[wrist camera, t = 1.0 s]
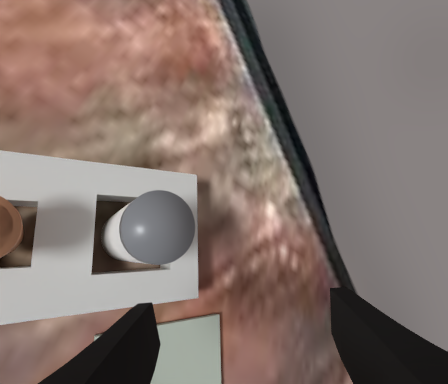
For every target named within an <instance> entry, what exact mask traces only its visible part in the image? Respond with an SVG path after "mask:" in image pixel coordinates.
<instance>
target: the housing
mask: <svg viewBox="0 0 448 384" xmlns="http://www.w3.org/2000/svg"><path fill="white" fill-rule="evenodd" d="M154 190H164V191H169V192H172V193H174V194H176V195H178V196H179V197H181V198H182V199H183V200H184V201H185V202H186V203H187V204H188V206H189V207H190V209H191V211H192V213H193V216H194V220H195V234H194V238H193V241H192V244H191V246H190V247H189V249H188V250H187V252H186V253H185V254H184V255H183V256H182V257H180V258H179V259H177V260H176V261H174V262H171V263H168V264H163V265H160V268H154V269H139V270H124V271H109V272H94V273H92V258H93V243H94V229H95V214H96V201H113V202H132V201H133V200H135V199H136V198H137V197H139V196H140V195H142V194H144V193H146V192H149V191H154ZM0 196H1V197H3V198H5V199H6V200H8V201H9V202H10V203H11V204H12V205H13V206H26V207H38V208H37V217H36V226H35V234H34V243H33V252H32V261H31V266H20V267H0V325H3V324H10V323H18V322H25V321H32V320H40V319H47V318H55V317H62V316H69V315H77V314H84V313H91V312H99V311H106V310H113V309H121V308H128V307H134V306H135V305H137V304H138V303H150V302H152V304H158V303H165V302H172V301H180V300H187V299H195V298H198V224H197V175H194V174H186V173H177V172H169V171H161V170H153V169H145V168H137V167H129V166H121V165H113V164H105V163H97V162H89V161H81V160H73V159H65V158H57V157H48V156H40V155H32V154H24V153H16V152H8V151H0Z"/></svg>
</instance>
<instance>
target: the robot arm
mask: <svg viewBox="0 0 448 384" xmlns="http://www.w3.org/2000/svg"><path fill="white" fill-rule="evenodd" d="M330 302H331V332H332V335H333V338H334V341H335V344H336V347H337V349H338V352H339V355H340V357H341V360H342V362H343V364H344V366H345V368H346V370H347V372H348V374H349V376H350V378H351V380H352V382H353V384H448V352H447V351H445V350H443V349H441V348H440V347H438V346H435V345H434V344H432V343H430V342H429V341H427V340H425V339H423V338H422V337H420V336H419V335H417V334H415V333H414V332H412V331H410V330H409V329H407V328H405V327H404V326H402V325H401V324H399V323H397V322H396V321H394V320H393V319H391V318H390V317H388V316H387V315H385V314H384V313H382V312H381V311H379V310H378V309H377V308H375V307H374V306H372V305H371V304H370V303H368V302H367V301H365V300H364V299H362V298H361V297H360V296H358V295H357V294H355V293H354V292H353V291H351V290H350V289H348V288H347V287H340V288H330ZM160 345H161V344H160V339H159V334H158V329H157V324H156V319H155V314H154V309H153V304H152V302H150V303H138V304H137V305H135V306H134V307H133V308H132V309H130V310H129V311H128V312H127V313H126V314H125V315H124V316H122V317H121V318H120V319H119V320H118V321H117V322H116V323H115V324H113V325H112V326H111V327H110V328H109V329H108V330H107V331H105V332H104V333H103V334H102V335H101V336H100V337H99V338H97V339H96V340H95V341H94V342H92V343H91V344H90V345H89V346H88V347H86V348H85V349H84V350H83V351H81V352H80V353H79V354H78V355H77V356H75V357H74V358H73V359H71V360H70V361H69V362H68V363H66V364H65V365H64V366H62V367H61V368H59V369H58V370H57V371H55V372H54V373H52V374H51V375H50V376H48V377H47V378H45V379H44V380H42V381H41V382H40V383H38V384H150V383H151V380H152V377H153V374H154V371H155V367H156V363H157V359H158V354H159V350H160Z"/></svg>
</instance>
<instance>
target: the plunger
mask: <svg viewBox="0 0 448 384" xmlns="http://www.w3.org/2000/svg"><path fill="white" fill-rule="evenodd" d="M23 235H24V228H23V224H22V219H21V216H20V214H19V212H18V210H17V209H16V208H15V207H14V206H13V205H12V204H11V203H10V202H9V201H8V200H6V199H5V198H3V197H1V196H0V258H2V257H3V256H5V255H7V254H9V253H11V252H12V251H14V250H15V249H16V248H17V247H18V246H19V244H20V243H21V241H22V239H23Z"/></svg>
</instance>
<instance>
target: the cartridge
mask: <svg viewBox="0 0 448 384" xmlns="http://www.w3.org/2000/svg"><path fill="white" fill-rule="evenodd" d="M194 234H195V220H194V216H193V213H192V211H191V209H190V207H189V206H188V204H187V203H186V202H185V201H184V200H183V199H182V198H181V197H179V196H178V195H176V194H174V193H172V192H169V191H164V190H154V191H149V192H146V193H144V194H142V195H140V196H139V197H137V198H136V199H135V200H133V201H132V202H130V203H129V204H128V205H126V206H125V207H124V208H122V209H121V210H119V211H118V212H117V213H115V214H114V215H113V216H111V217H110V218H109V219H108V220H107V221H106V222H105V224H104V226H103V228H102V231H101V243H102V246H103V248H104V250H105V252H106V253H107V254H108V255H109V256H111V257H112V258H114V259H116V260H120V261H127V262H136V263H145V264H154V265H163V264H168V263H171V262H174V261H176V260H177V259H179V258H180V257H182V256H183V255H184V254H185V253H186V252H187V250H188V249H189V247H190V246H191V244H192V241H193V238H194Z"/></svg>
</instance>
